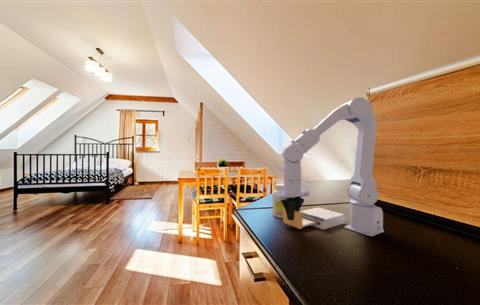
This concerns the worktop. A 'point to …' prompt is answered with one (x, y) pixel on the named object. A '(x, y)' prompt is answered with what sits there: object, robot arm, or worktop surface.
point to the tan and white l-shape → (298, 220)
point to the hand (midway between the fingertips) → (292, 219)
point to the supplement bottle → (278, 204)
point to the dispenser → (324, 217)
